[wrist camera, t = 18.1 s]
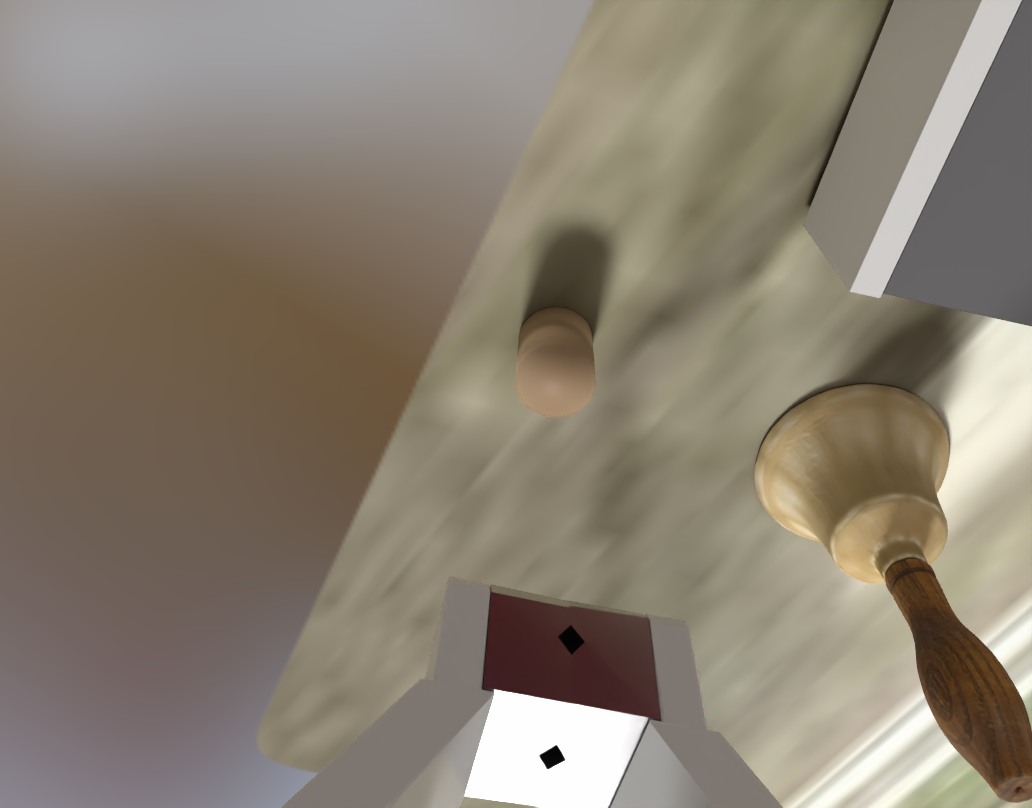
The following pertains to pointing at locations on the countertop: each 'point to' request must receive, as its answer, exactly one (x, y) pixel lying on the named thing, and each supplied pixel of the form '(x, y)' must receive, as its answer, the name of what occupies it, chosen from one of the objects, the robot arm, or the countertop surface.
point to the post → (555, 362)
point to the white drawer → (902, 132)
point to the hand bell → (897, 552)
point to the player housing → (981, 200)
